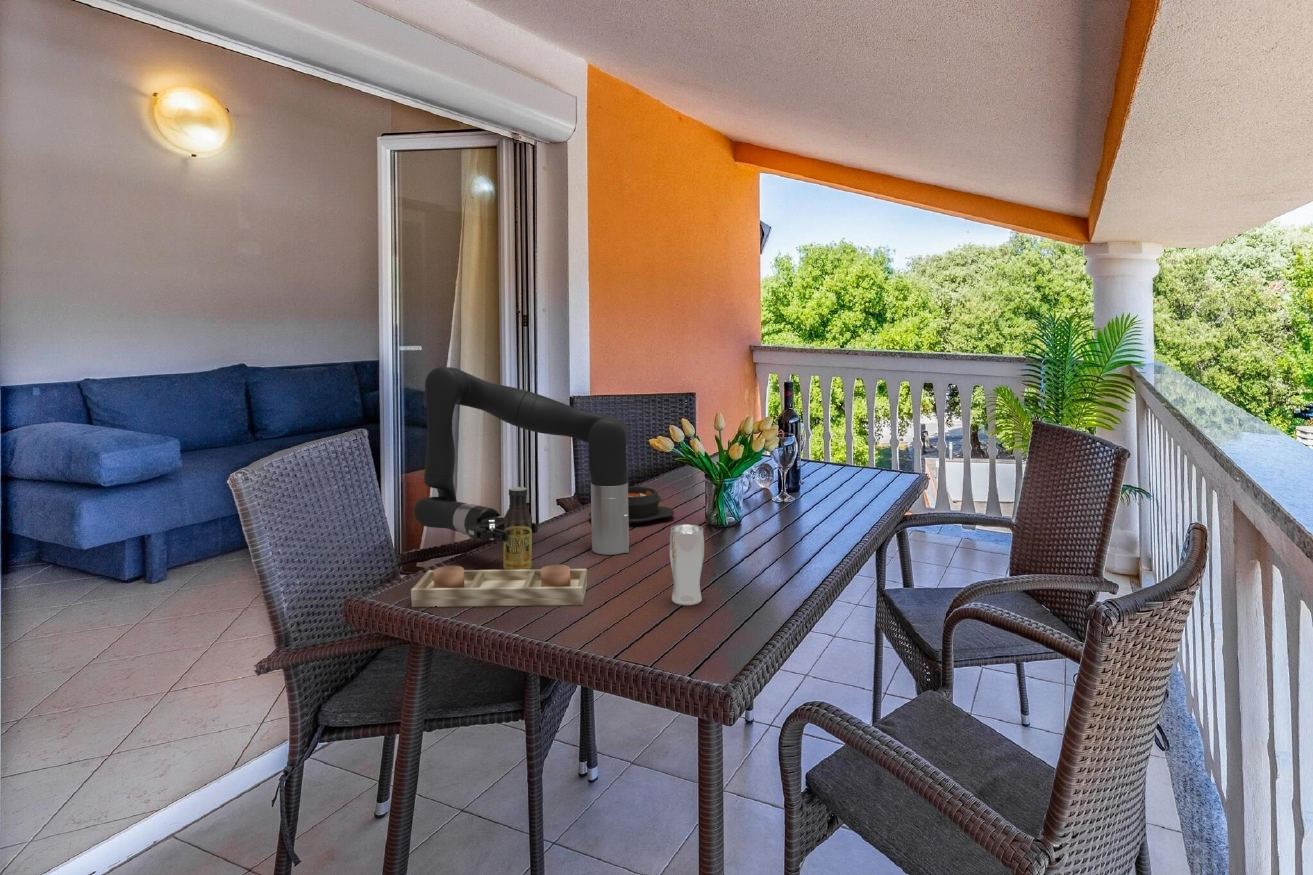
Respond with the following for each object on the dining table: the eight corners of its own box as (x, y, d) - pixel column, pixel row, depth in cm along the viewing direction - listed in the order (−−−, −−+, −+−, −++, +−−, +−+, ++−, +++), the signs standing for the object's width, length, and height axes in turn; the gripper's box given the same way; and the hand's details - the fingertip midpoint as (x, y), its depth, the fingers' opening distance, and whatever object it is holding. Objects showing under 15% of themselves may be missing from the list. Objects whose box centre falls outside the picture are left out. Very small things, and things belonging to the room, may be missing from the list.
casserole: (666, 509, 223) (666, 483, 222) (681, 525, 205) (681, 496, 204) (585, 514, 218) (585, 486, 217) (593, 530, 200) (592, 500, 199)
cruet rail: (587, 584, 157) (586, 559, 156) (582, 604, 145) (582, 578, 144) (429, 586, 156) (428, 561, 156) (411, 606, 145) (410, 580, 144)
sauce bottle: (503, 580, 160) (500, 492, 157) (503, 571, 166) (500, 486, 163) (533, 578, 161) (530, 490, 159) (532, 569, 167) (530, 484, 165)
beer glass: (667, 594, 151) (667, 524, 149) (701, 593, 151) (701, 523, 149) (671, 607, 144) (671, 533, 142) (706, 605, 145) (706, 532, 142)
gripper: (450, 511, 165) (495, 522, 155) (500, 500, 176) (545, 510, 166) (451, 543, 166) (497, 556, 156) (501, 530, 177) (546, 541, 167)
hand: (522, 532), depth 161 cm, fingers open, 8 cm apart
